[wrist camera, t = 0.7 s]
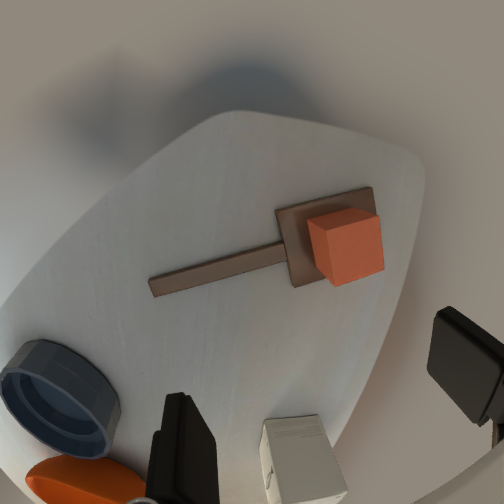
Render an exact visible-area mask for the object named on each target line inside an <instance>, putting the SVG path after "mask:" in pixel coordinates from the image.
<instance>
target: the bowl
mask: <svg viewBox="0 0 504 504" xmlns="http://www.w3.org/2000/svg"><path fill="white" fill-rule="evenodd" d="M25 480H26V483H27V485H28V486H29V488H30V489H31V490H32V491H33V492H34V493H35V494H36V495H37V496H38V497H39V498H41V499H42V500H43V501H44V502H46V503H47V504H126V503H127V502H128V501H130V500H132V499H134V498H139V497H145V489H146V484H145V483H144V482H143V481H142V479H141V478H140V477H139V476H138V475H137V474H136V473H135V472H133V471H132V470H130V469H129V468H127V467H125V466H123V465H121V464H119V463H117V462H115V461H113V460H110V459H108V458H105V457H102V458H99V459H96V460H91V459H79V458H75V457H72V456H69V455H61V456H56V457H52V458H49V459H46V460H44V461H42V462H40V463H38V464H37V465H35V466H34V467H33V468H32V469H31V470H30V471H29V472H28V473H27V475H26V478H25Z"/></svg>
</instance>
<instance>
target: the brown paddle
mask: <svg viewBox="0 0 504 504" xmlns="http://www.w3.org/2000/svg"><path fill="white" fill-rule="evenodd" d="M352 207H354V208H357V209H360V210H363V211H366V212H369V213H372V214H375V215H377V214H376V207H375V201H374V194H373V188H372V187H364V188H360V189H356V190H352V191H348V192H343V193H339V194H335V195H331V196H327V197H323V198H319V199H315V200H311V201H308V202H304V203H300V204H296V205H292V206H288V207H285V208H281V209H277V210H275V213H276V217H277V222H278V226H279V230H280V234H281V238H282V241H279V242H275V243H272V244H268V245H265V246H261V247H258V248H254V249H251V250H247V251H244V252H240V253H237V254H233V255H230V256H226V257H223V258H219V259H216V260H212V261H208V262H205V263H201V264H198V265H194V266H191V267H187V268H184V269H180V270H177V271H173V272H170V273H166V274H163V275H160V276H156V277H153V278H150V279H149V280H148V284H149V286H150V289H151V291H152V294H153V296H154V297H158V296H162V295H166V294H169V293H173V292H177V291H181V290H184V289H188V288H191V287H195V286H199V285H202V284H206V283H210V282H213V281H217V280H220V279H224V278H227V277H231V276H235V275H238V274H242V273H245V272H249V271H252V270H256V269H259V268H263V267H266V266H269V265H273V264H276V263H280V262H283V261H287V264H288V268H289V273H290V277H291V282H292V285H293V287H294V288H296V287H299V286H303V285H306V284H309V283H312V282H316V281H319V280H322V279H325V278H326V277H325V276H324V275H323V274H322V273H321V272H320V271H319V270H318V269H317V268H316V263H315V258H314V253H313V247H312V242H311V237H310V232H309V228H308V223H307V219H311V218H314V217H318V216H322V215H326V214H329V213H333V212H337V211H341V210H344V209H348V208H352Z"/></svg>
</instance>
